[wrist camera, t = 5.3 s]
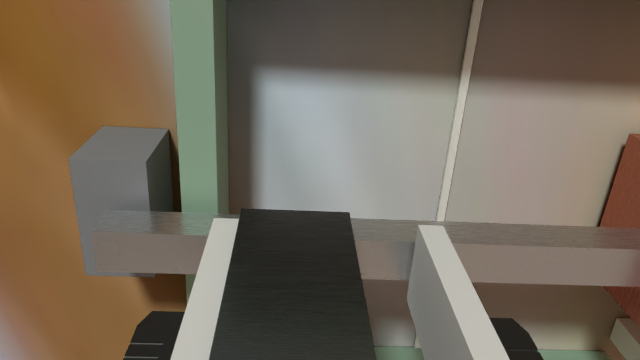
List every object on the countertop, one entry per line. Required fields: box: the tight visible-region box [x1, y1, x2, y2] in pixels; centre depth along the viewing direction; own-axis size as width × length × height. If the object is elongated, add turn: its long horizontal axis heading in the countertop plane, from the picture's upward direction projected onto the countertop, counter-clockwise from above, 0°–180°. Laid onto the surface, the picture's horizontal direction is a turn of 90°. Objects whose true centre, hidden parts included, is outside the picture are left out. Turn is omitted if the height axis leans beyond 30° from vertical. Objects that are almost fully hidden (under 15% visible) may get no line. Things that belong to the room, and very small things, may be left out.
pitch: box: [68, 0, 610, 360], centre depth 19 cm, size 31×18×3 cm, turn 87°
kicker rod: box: [91, 134, 640, 360], centre depth 15 cm, size 20×6×12 cm, turn 87°
